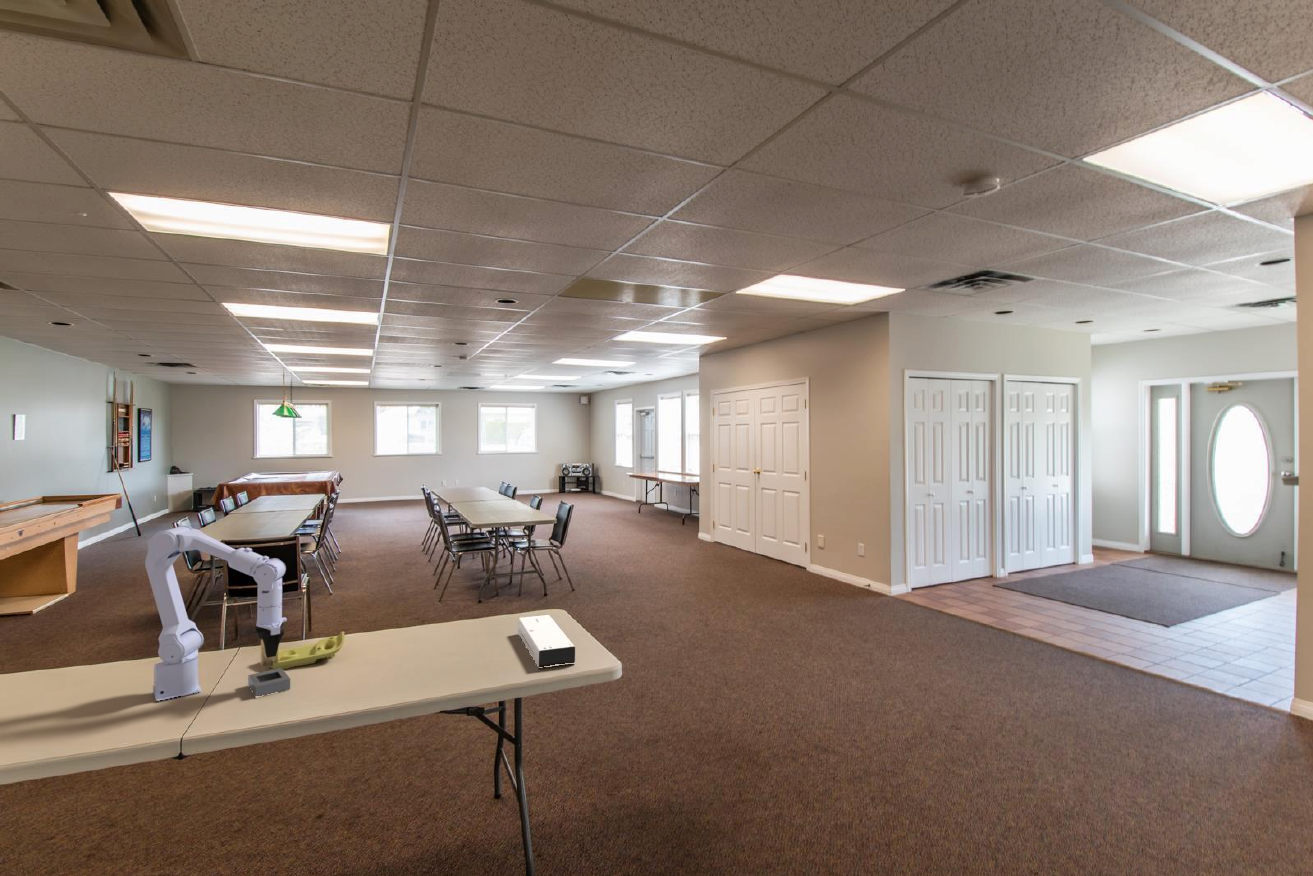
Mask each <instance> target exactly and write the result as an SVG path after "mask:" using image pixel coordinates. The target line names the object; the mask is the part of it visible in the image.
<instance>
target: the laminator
mask: <svg viewBox="0 0 1313 876" xmlns="http://www.w3.org/2000/svg"><path fill="white" fill-rule="evenodd" d="M518 634H519V636H520V637H521V639H522V641H523V642H524V644H525V646H526V647H527V649H528V650H529V652H530V654H531V655H532V657H533V659H534V660H535V662H536V664H537V665H538V667H544V666H550V665H555V664H565V663H574V662H575V663H576V647H575V645H574V644H573V642H571V641H572V640H570V639H569V638H568V637H567V635H566V634H565V633H564V631H563V630H562V629H561V628H560V627H559V625H558V624H557V622H555V620H554V619H553V618H552V617H551V616H550V614H541V615H534V616H532V615H531V616H523V617H522V616H521V617H518V618H517V635H518ZM519 636H518V637H519ZM520 637H519V638H520ZM521 639H520V640H521ZM522 641H521V642H522ZM523 642H522V643H523ZM524 644H523V645H524ZM525 646H524V647H525ZM526 647H525V648H526ZM527 649H526V650H527ZM530 654H529V655H530ZM533 659H532V660H533ZM536 664H535V665H536Z"/></svg>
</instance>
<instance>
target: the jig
mask: <svg viewBox="0 0 1313 876" xmlns="http://www.w3.org/2000/svg"><path fill="white" fill-rule="evenodd" d="M248 685H249V687H250V688H251V690H252V691H253V693H254V695H255V696H262V695H267V694H271V693H275V692H279V691H283V692H286V690H287V691H290V690H291V678H290V676H288V674H287V673H286V672H285V669H282V668H279V669H270V670H265V671H262V672H258V673H252V674H249V675H247V686H248ZM249 687H248V688H249ZM250 688H249V689H250ZM289 689H290V690H289ZM251 690H250V691H251ZM252 691H251V692H252ZM253 693H252V694H253ZM279 693H280V692H279ZM275 694H276V693H275ZM254 695H253V696H254ZM271 695H272V694H271ZM255 696H254V697H255ZM267 696H268V695H267Z"/></svg>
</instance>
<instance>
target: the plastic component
mask: <svg viewBox="0 0 1313 876" xmlns="http://www.w3.org/2000/svg"><path fill="white" fill-rule="evenodd" d="M344 642H345V631H340V633H339V634H338V635H336V636H330V637H325V638H323V639H321V640H319V641H318V642H316V643H313V644H306V645H300V646H295V647H290V648H285V649H278V663H277V664H275V665H273V666H270V668H271V669H272V668H273V669H272V670H274V669H279V668H285V669H289V668H290V667H291V668H295V666H296V667H300V666H305V665H311V664H315V663H316V662H317V660H319V659H326V660H329V659H333V658H334V657H335V656H336V653H337V652H339V651H340V650H341V648H342V647H343V645H344V644H345V643H344Z"/></svg>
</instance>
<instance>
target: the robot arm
mask: <svg viewBox="0 0 1313 876" xmlns="http://www.w3.org/2000/svg"><path fill="white" fill-rule="evenodd" d="M146 544H147V549H148V550H147V554H146V557H145V560H144V563H145V564H144V566H145V569H146V572H147V576H148V579H149V584H150V587H151V590H152V593H153V597H154V601H155V605H156V609H157V611H158V614H159V617H160V618H159V619H160V622H161V624H162V630H161V632H160V634H159V637H158V642H159V647H158V651H157V654H158V658H160V659H161V661H160V662H158V663H155V664H154V666H153V685H152V693H153V695H154V698H155V699H154V700H155V702H156V701H158V700H163V701H166V700H165V699H168V700H171V699H170V698H172V699H175V698H174V697H177V698H179V697H178V696H181V697H186V696H188V695H189V696H190V695H194V694H198V692H199V693H201V692H202V688H201V685H200V684H199V683H200V682H199V649H200V648H201V647H202V646H203V644H204V635H203V633H202V632H201V631H200V630H199V629H198V627H197V625H196V623H195V622H194V621H192V620H190V619H189V617H188V614H187V611H186V606H185V603H184V600H183V596H182V593H181V590H180V584H179V582H178V578H177V575H176V572H175V568H174V565H173V564H174V563H175V562H176V561H177V560H178V558H179V556H180V555H181V554H182V553H184V552H187V551H188V552H189V551H195V550H197V551H199V552H202V553H204V554H205V553H206V554H208V555H211V556H214V557H216V558H219V559H221V560H225V561H227V564H228V567H229V568H231V569H233V570H236V571H238V572H240V573H243V574H245V575H248V576H250V577H253V580H254V582H256V584H257V599H256V600H257V602H256V603H257V604H256V606H257V607H256V608H257V609H256V610H257V611H256V612H257V614H256V615H257V617H256V618H257V619H256V622H255V623H256V624H255V626H256V627H254V630H255V632H256V633H257V636H258V638H259V641H260V643H261V639H262V640H263V642H264V647H265V653H266V656H267V658H269V657H274V656H276V654H277V650H279V646H280V642H281V640H282V637H283V636H284V635H285V629H281V626H282V624H283V623H284V622H287V620H288V619H287V617H283V577H284V575H285V574H286V571H287V566H286V564H285V562H283V561H282V560H280V559H279V558H275V557H274V558H270V557H269V556H267V555H261V554H259V553H257V552H254V551H253V549H252V548H250V547H246V548H245V547H239V548H237V549H235V548H233V547H231V546H230V545H227V544H225V543H223V542H221V541H219V540H218V539H215V538H213V537H211V536H209V535H207V534H205V533H203V532H202V530H200V529H197V528H193V527H191V526H189V525H179V526H177V527H174V528H169V529H166V530H160V531H158V532H156V533H155V534H154V535H152V537H151V538H149V540H148V541H147V542H146ZM193 693H194V694H193Z"/></svg>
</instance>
